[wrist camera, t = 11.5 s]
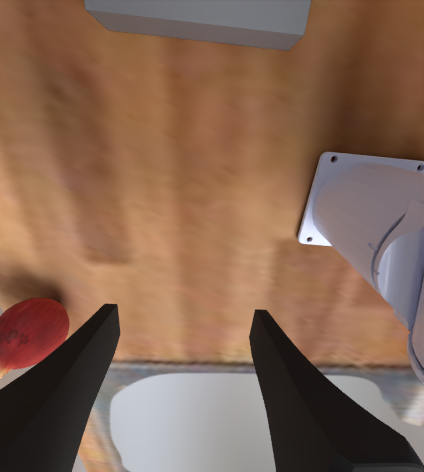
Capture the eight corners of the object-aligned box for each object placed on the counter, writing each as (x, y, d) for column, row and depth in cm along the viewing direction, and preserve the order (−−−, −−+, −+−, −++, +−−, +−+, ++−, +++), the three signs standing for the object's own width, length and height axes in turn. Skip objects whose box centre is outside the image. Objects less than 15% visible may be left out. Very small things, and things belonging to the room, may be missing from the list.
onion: (17, 293, 25) (-64, 363, 18) (58, 273, 24) (-11, 339, 16) (55, 329, 27) (-2, 403, 20) (94, 312, 26) (49, 385, 19)
